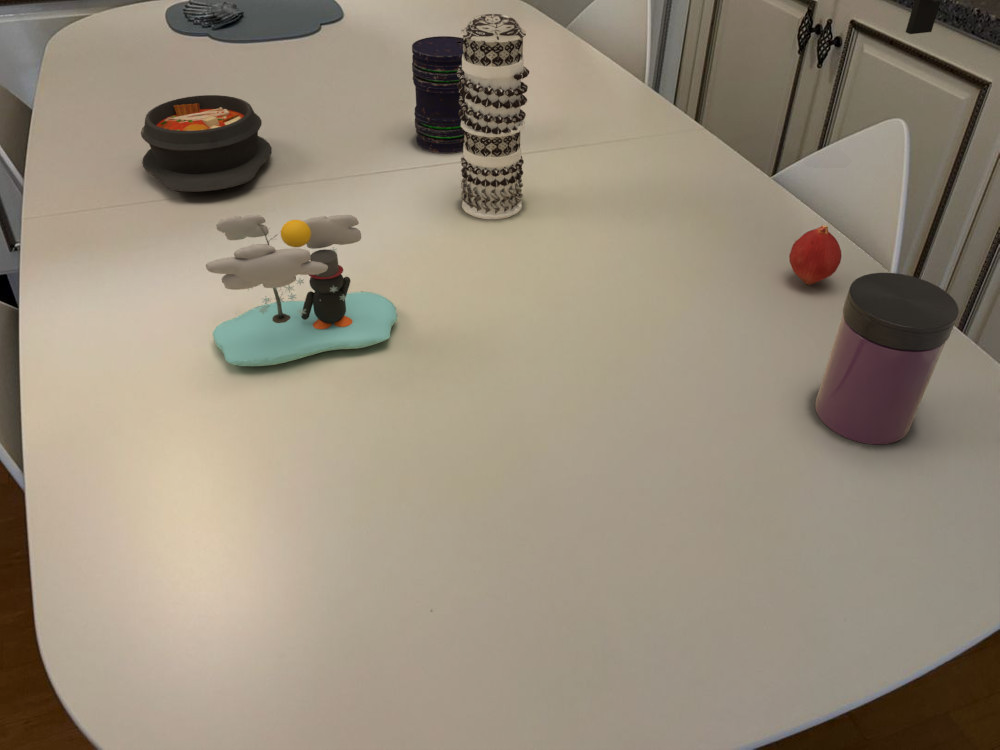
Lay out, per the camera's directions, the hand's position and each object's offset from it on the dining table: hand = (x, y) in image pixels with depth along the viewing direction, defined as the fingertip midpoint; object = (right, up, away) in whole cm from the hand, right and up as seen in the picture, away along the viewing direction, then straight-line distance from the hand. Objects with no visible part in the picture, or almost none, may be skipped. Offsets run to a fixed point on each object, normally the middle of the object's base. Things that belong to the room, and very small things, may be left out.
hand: (875, 15), depth 94 cm
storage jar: (-50, -2, +43) cm, 66 cm away
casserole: (-85, -9, +34) cm, 92 cm away
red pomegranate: (-4, -29, +10) cm, 31 cm away
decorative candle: (-43, -16, +25) cm, 52 cm away
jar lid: (-5, -33, -17) cm, 38 cm away
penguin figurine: (-63, -36, 0) cm, 72 cm away
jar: (-5, -44, -9) cm, 45 cm away
